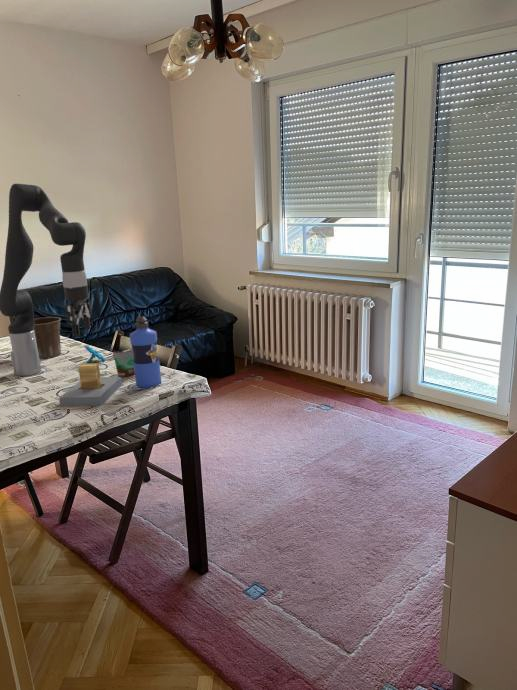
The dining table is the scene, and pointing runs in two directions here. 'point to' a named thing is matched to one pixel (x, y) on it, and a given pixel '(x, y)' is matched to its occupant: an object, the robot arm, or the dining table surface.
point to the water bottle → (145, 355)
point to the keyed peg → (90, 376)
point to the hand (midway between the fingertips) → (82, 332)
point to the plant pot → (47, 336)
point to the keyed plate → (90, 393)
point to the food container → (124, 363)
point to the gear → (94, 354)
